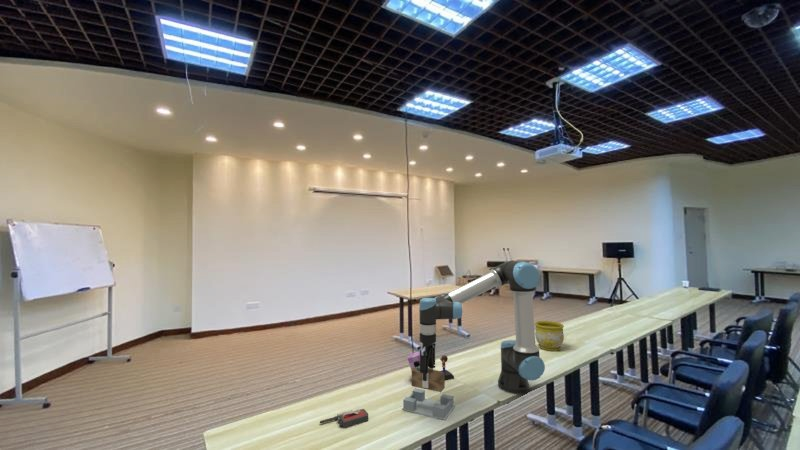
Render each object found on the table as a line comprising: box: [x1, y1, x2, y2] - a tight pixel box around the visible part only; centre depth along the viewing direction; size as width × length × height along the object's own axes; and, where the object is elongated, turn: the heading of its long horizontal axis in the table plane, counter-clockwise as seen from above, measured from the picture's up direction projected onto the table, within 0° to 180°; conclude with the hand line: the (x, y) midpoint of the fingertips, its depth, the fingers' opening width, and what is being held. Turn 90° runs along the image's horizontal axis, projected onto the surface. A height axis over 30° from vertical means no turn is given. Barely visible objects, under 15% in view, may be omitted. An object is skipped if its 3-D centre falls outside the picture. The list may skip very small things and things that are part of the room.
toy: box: [407, 350, 420, 372], centre depth 184 cm, size 11×8×15 cm
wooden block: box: [411, 366, 446, 393], centre depth 155 cm, size 14×5×8 cm, turn 65°
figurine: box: [439, 354, 455, 381], centre depth 188 cm, size 8×8×12 cm
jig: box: [401, 387, 456, 421], centre depth 155 cm, size 20×13×4 cm, turn 63°
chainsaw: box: [319, 408, 369, 429], centre depth 144 cm, size 9×4×20 cm
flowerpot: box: [534, 320, 565, 352], centre depth 235 cm, size 18×18×16 cm
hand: (427, 384), depth 155 cm, fingers closed on wooden block, 5 cm apart
